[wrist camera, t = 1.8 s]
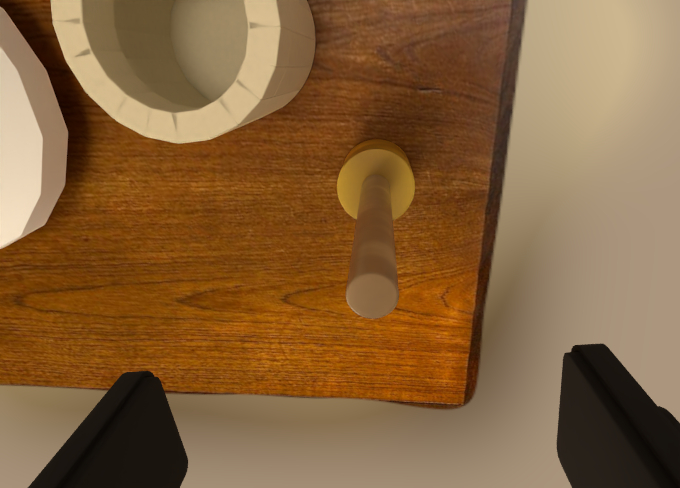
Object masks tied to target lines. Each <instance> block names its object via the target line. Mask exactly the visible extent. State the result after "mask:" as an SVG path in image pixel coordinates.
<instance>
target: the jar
mask: <svg viewBox="0 0 680 488" xmlns="http://www.w3.org/2000/svg"><path fill="white" fill-rule="evenodd" d="M51 10H52V20H53V22H52V23H53V26H54V29H55V32H56V35H57V37H58V40H59V43H60V46H61V49H62V52H63V55H64V58H65V60H66V62H67V64H68V65H69V67H70V68H71V70H72V72H73V73H74V75H75V76H76V78H77V79H78V81H79V83H80V84H81V86H82V87H83V89H84V90H85V92H86V93H87V94H88V95H89V96H90V97H91V98H92V99H93V100H94V101H95V102H96V103H97V104H98V105H99V106H100V107H102V108H103V109H104V110H105V111H106V112H107V113H108V114H109V115H110V116H111V117H112V118H113V119H115V120H116V121H117V122H119V123H121V124H123V125H125V126H127V127H128V128H130V129H132V130H134V131H136V132H138V133H140V134H141V135H143V136H146V137H149V138H154V139H159V140H163V141H168V142H173V143H179V144H180V143H188V142H196V141H204V140H210V139H213V138H215V137H218V136H220V135H222V134H225V133H227V132H229V131H232V130H234V129H236V128H239V127H241V126H243V125H246V124H248V123H250V122H253V121H255V120H257V119H260V118H262V117H264V116H266V115H268V114H270V113H272V112H274V111H276V110H278V109H280V108H282V107H284V106H285V105H286V104H287V103H289V102H290V101H291V100H292V99H293V98H294V97H295V96H296V95H297V93H298V92H299V91H300V90H301V88H302V87H303V85H304V83H305V82H306V80H307V78H308V75H309V73H310V71H311V67H312V64H313V60H314V54H315V42H316V37H315V26H314V21H313V16H312V13H311V10H310V7H309V4H308V2H307V0H51Z"/></svg>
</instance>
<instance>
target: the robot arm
mask: <svg viewBox="0 0 680 488" xmlns="http://www.w3.org/2000/svg"><path fill="white" fill-rule="evenodd" d="M557 452H558V457H559V460H560V463H561V465H562V467H563V469H564V471H565V473H566V476H567V478H568V480H569V482H570V484H571V486H572V488H680V423H679V422H678V421H677V420H676V419H675V417H674V416H673V415H672V414H671V413H670V412H669V411H667V410H666V409H664V408H662V407H660V406H659V407H658V406H657V405H656V404H655V403H654V402H653V400H652V399H651V398H650V397H649V396H648V395H647V393H646V392H645V391H644V390H643V389H642V387H641V386H640V385H639V384H638V383H637V382H636V380H635V379H634V378H633V377H632V376H631V374H630V373H629V372H628V371H627V370H626V368H625V367H624V366H623V365H622V364H621V362H620V361H619V360H618V359H617V358H616V357H615V355H614V354H613V353H612V352H611V351H610V349H609V348H608V347H607V346H606V345H604V344H588V345H575V346H573V348H572V351H571V352H570V353H565V354H564V357H563V370H562V382H561V395H560V408H559V421H558V435H557ZM187 468H188V458H187V455H186V452H185V449H184V446H183V443H182V441H181V438H180V436H179V432H178V429H177V426H176V424H175V421H174V418H173V415H172V412H171V410H170V407H169V404H168V401H167V398H166V395H165V392H164V389H163V387H162V384H161V381H160V379H159V378H158V377H154V375H153V373H151V372H150V371H139V372H126V373H124V374H122V375H121V376H120V377H119V379H118V380H117V381H116V382H115V383H114V385H113V386H112V387H111V388H110V389H109V391H108V392H107V393H106V394H105V396H104V397H103V398H102V399H101V400H100V402H99V403H98V404H97V405H96V406H95V408H94V409H93V410H92V411H91V412H90V414H89V415H88V416H87V417H86V418H85V420H84V421H83V422H82V423H81V424H80V426H79V427H78V428H77V429H76V431H75V432H74V433H73V434H72V435H71V437H70V438H69V439H68V440H67V441H66V443H65V444H64V445H63V446H62V447H61V449H60V450H59V451H58V452H57V453H56V455H55V456H54V457H53V458H52V459H51V461H50V462H49V463H48V464H47V465H46V467H45V468H44V469H43V470H42V471H41V473H40V474H39V475H38V476H37V477H36V479H35V480H34V481H33V482H32V483H31V485H30V486H29V487H28V488H180V486H181V483H182V481H183V479H184V477H185V475H186V472H187Z"/></svg>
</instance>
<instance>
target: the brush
mask: <svg viewBox="0 0 680 488" xmlns="http://www.w3.org/2000/svg"><path fill="white" fill-rule="evenodd" d="M337 193H338V198H339V201H340V203H341V205H342V206H343V208H344V209H345V211H346V212H347V213H348V214H349V215H350V216H352V217H353V218H354V219H356V220H357V221H356V228H355V235H354V241H353V248H352V255H351V261H350V268H349V275H348V281H347V288H346V300H347V303H348V305H349V306H350V308H351V309H352V310H353V311H354V312H355V313H356V314H358V315H360V316H362V317H365V318H380V317H383V316H386V315H387V314H389V313H390V312H391V311H392V310H393V309H394V308H395V307H396V305H397V303H398V299H399V290H398V279H397V267H396V255H395V243H394V231H393V220H395V219H397V218H399V217H400V216H401V215H402V214H403V213H404V212H405V211H406V210H407V209H408V208H409V206H410V204H411V202H412V200H413V197H414V193H415V180H414V176H413V172H412V169H411V166H410V163H409V160H408V158H407V156H406V154H405V153H404V152H403V150H402V149H401V148H400V147H398V146H397V145H396V144H394V143H392V142H390V141H387V140H383V139H371V140H367V141H364V142H361V143H359V144H358V145H356V146H355V147H354V148H353V149H352V150H351V151H350V152H349V153H348V155H347V156H346V158H345V160H344V163H343V165H342V168H341V171H340V173H339V176H338V181H337Z"/></svg>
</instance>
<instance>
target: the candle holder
mask: <svg viewBox="0 0 680 488" xmlns="http://www.w3.org/2000/svg"><path fill="white" fill-rule="evenodd" d="M67 145H68V130H67V127H66V124H65V121H64V119H63V116H62V113H61V110H60V107H59V104H58V102H57V99H56V96H55V93H54V90H53V87H52V85H51V82H50V79H49V76H48V73H47V71H46V69H45V68H44V66H43V65H42V63H41V62H40V60H39V59H38V58H37V56H36V55H35V53H34V52H33V50H32V49H31V47H30V46H29V44H28V43H27V42H26V40H25V39H24V37H23V36H22V34H21V33H20V31H19V30H18V29H17V27H16V26H15V24H14V23H13V21H12V20H11V18H10V17H9V16H8V14H7V13H6V11H5V10H4V9H3V8H1V7H0V249H2V248H4V247H6V246H8V245H10V244H12V243H13V242H15V241H17V240H19V239H20V238H22V237H24V236H26V235H28V234H29V233H31V232H33V231H35V230H36V229H38V228H40V227H42V226H44V225H45V224H46V222H47V220H48V218H49V216H50V214H51V212H52V210H53V208H54V206H55V204H56V202H57V200H58V198H59V196H60V194H61V192H62V190H63V188H64V186H65V179H66V162H67Z"/></svg>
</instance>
